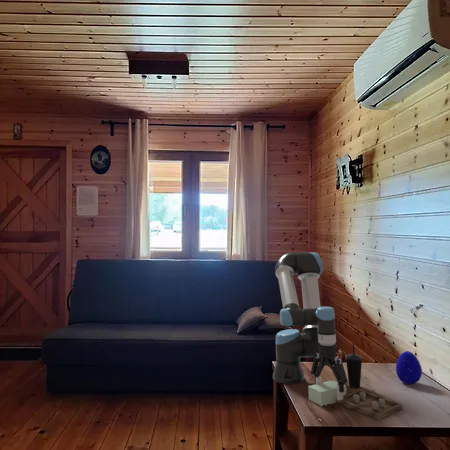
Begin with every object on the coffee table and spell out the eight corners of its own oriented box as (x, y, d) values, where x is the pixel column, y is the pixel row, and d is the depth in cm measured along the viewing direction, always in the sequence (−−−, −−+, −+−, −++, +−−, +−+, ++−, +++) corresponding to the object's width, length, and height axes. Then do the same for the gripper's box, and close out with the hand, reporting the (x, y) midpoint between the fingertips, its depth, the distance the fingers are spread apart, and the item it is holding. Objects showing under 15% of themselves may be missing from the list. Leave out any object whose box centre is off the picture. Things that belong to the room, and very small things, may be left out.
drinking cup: (364, 390, 185) (363, 345, 185) (346, 389, 186) (345, 345, 187) (362, 383, 192) (361, 341, 192) (345, 383, 194) (344, 340, 194)
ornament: (424, 383, 192) (423, 350, 192) (418, 389, 185) (417, 355, 185) (399, 378, 199) (398, 347, 199) (393, 383, 192) (392, 351, 192)
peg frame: (336, 403, 171) (336, 394, 171) (360, 393, 181) (360, 385, 181) (378, 420, 155) (378, 411, 155) (402, 409, 164) (402, 400, 164)
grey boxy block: (321, 407, 168) (320, 392, 169) (308, 400, 176) (308, 386, 176) (346, 399, 175) (346, 385, 175) (333, 393, 182) (333, 380, 182)
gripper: (301, 340, 183) (303, 390, 182) (343, 350, 164) (346, 406, 163) (312, 337, 187) (314, 386, 186) (355, 347, 168) (357, 401, 167)
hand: (329, 395), depth 174 cm, fingers open, 11 cm apart
